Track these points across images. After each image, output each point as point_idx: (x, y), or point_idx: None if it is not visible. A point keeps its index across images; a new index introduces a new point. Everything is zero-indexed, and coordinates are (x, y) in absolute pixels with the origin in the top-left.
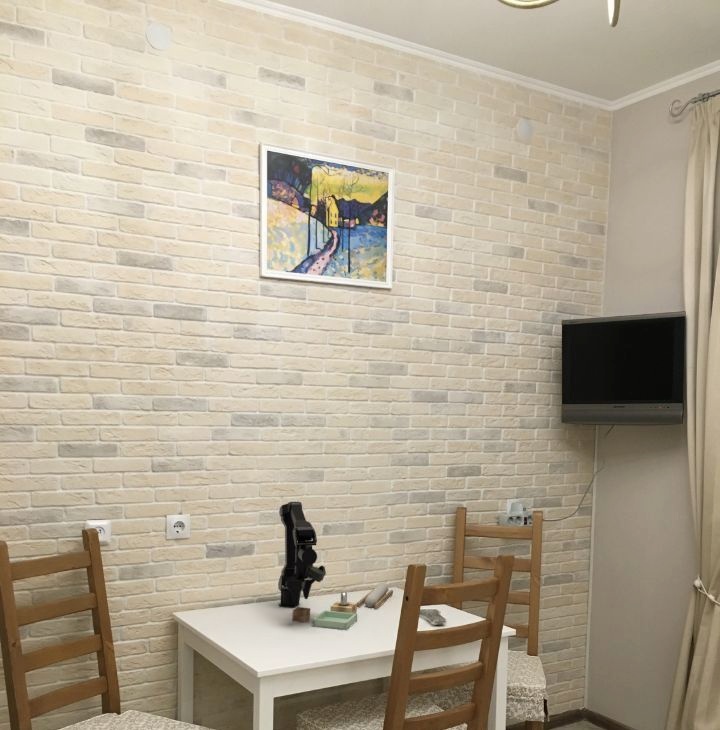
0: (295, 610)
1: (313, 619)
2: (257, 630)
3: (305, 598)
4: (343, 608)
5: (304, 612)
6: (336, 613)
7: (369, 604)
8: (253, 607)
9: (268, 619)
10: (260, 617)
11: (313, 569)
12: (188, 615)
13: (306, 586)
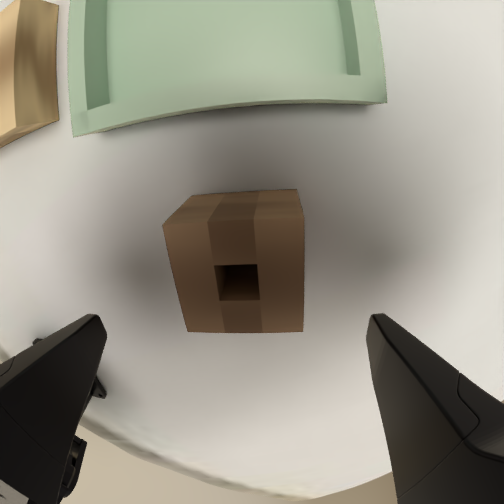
0: (303, 311)
1: (385, 92)
2: (479, 343)
3: (103, 331)
4: (20, 36)
5: (302, 224)
6: (88, 29)
7: None
8: (178, 443)
9: (310, 385)
10: (291, 412)
11: None
12: (335, 488)
13: (32, 421)
